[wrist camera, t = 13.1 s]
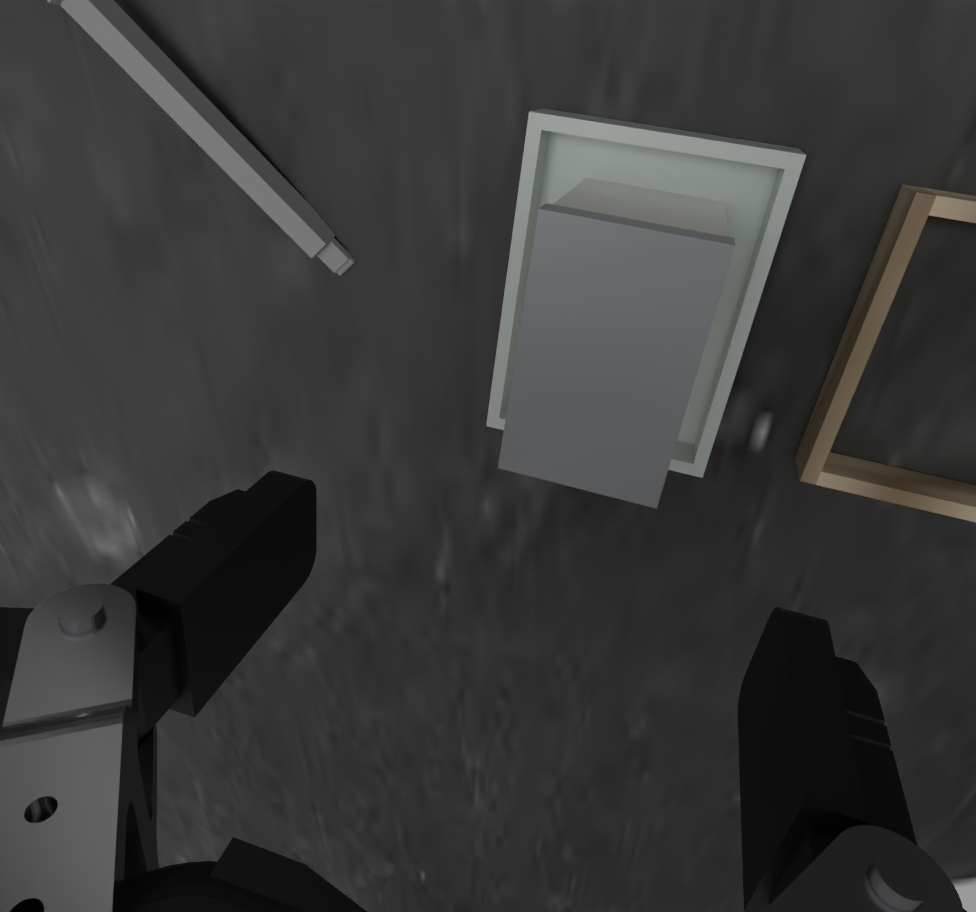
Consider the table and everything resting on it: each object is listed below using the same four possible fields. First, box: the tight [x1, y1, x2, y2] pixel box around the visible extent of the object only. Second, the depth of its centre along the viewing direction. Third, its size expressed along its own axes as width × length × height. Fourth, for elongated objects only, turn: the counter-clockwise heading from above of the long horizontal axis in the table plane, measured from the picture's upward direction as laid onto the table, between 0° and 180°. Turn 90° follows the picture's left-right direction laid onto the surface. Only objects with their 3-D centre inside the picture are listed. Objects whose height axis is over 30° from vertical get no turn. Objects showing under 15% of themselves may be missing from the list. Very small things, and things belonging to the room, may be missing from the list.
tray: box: [486, 109, 806, 478], centre depth 27 cm, size 9×12×2 cm
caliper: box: [47, 0, 356, 276], centre depth 26 cm, size 20×1×6 cm, turn 39°
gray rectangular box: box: [498, 177, 735, 508], centre depth 24 cm, size 5×8×8 cm, turn 171°
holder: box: [795, 184, 976, 522], centre depth 25 cm, size 8×11×2 cm
